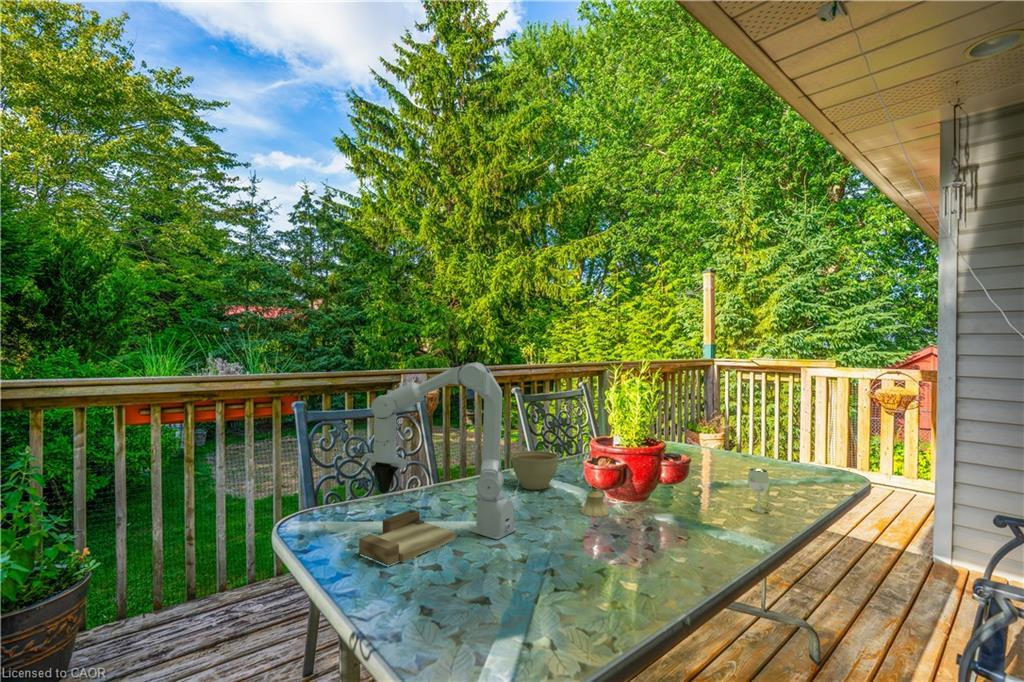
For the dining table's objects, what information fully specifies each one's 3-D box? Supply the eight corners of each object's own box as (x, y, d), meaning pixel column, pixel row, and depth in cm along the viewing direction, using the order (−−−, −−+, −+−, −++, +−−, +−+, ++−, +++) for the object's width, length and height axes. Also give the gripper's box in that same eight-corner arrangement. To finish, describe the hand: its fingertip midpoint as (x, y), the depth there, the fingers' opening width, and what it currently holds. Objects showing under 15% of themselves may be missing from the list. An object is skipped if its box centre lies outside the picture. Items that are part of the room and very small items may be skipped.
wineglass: (764, 508, 149) (764, 468, 150) (772, 514, 144) (772, 472, 144) (744, 507, 150) (744, 467, 150) (752, 513, 144) (752, 472, 144)
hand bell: (601, 519, 138) (601, 462, 139) (575, 513, 143) (575, 458, 144) (614, 511, 145) (614, 457, 145) (589, 506, 150) (589, 453, 150)
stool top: (455, 540, 123) (455, 523, 123) (391, 569, 106) (391, 550, 106) (419, 528, 130) (419, 513, 130) (353, 553, 114) (353, 536, 114)
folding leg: (419, 526, 131) (419, 510, 131) (390, 538, 123) (390, 521, 123) (411, 524, 133) (411, 508, 133) (382, 536, 124) (382, 518, 124)
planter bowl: (566, 484, 174) (566, 453, 174) (544, 496, 160) (544, 462, 160) (526, 478, 182) (526, 448, 182) (502, 488, 168) (502, 456, 169)
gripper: (415, 441, 131) (415, 492, 130) (378, 435, 139) (377, 484, 138) (395, 445, 125) (394, 499, 125) (357, 439, 133) (357, 489, 133)
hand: (384, 491), depth 131 cm, fingers closed
